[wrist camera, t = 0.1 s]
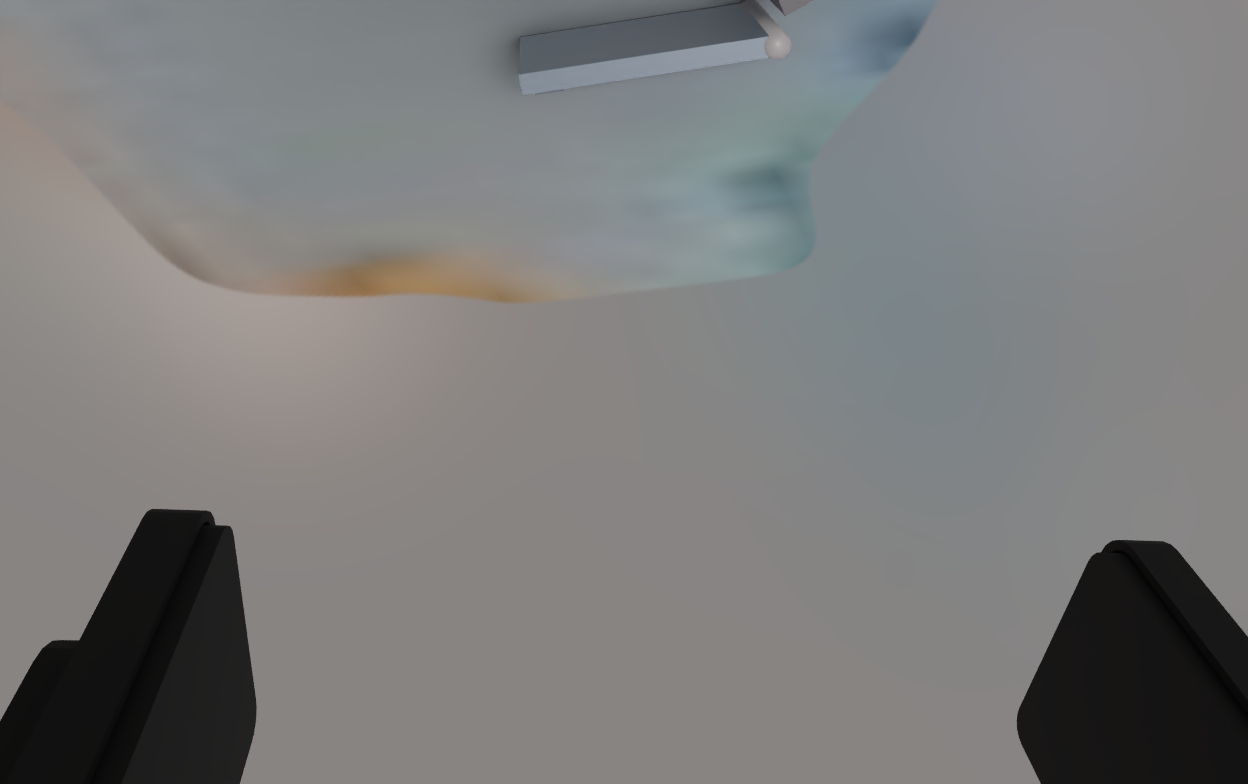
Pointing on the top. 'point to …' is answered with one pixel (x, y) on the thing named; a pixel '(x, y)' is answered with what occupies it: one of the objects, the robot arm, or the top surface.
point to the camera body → (789, 5)
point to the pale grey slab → (649, 47)
